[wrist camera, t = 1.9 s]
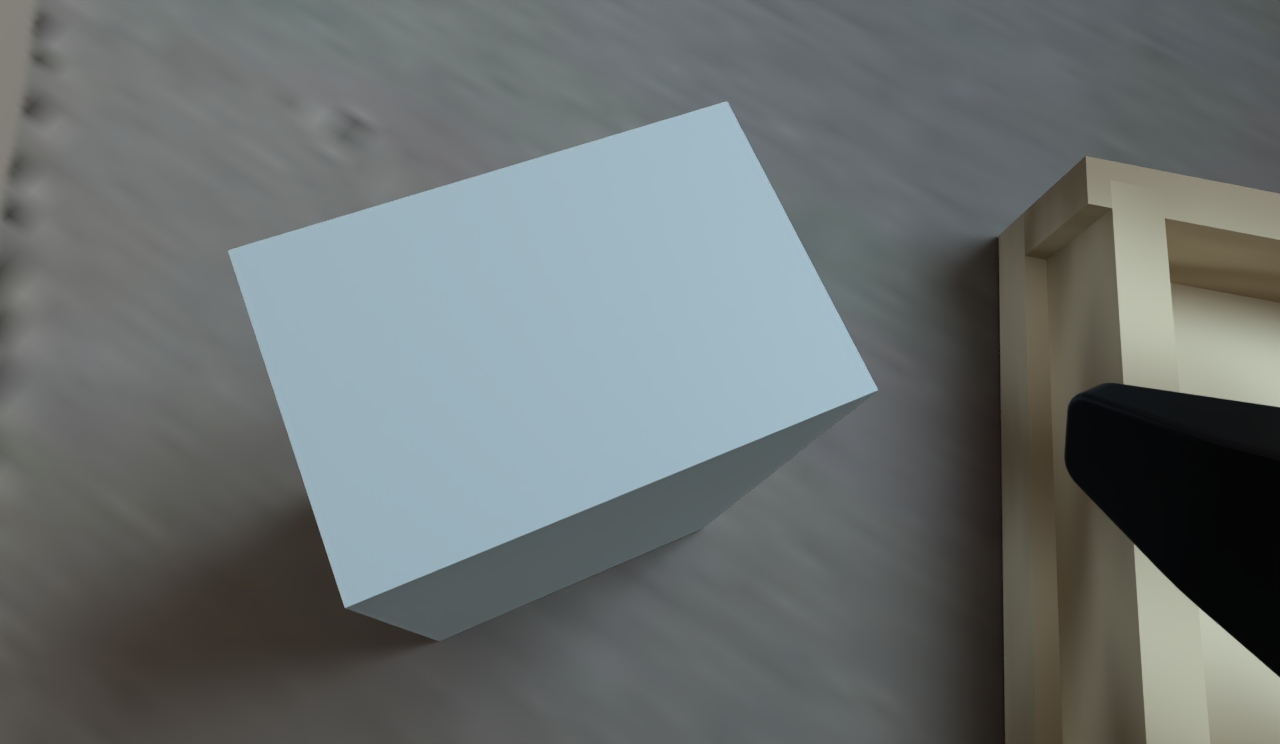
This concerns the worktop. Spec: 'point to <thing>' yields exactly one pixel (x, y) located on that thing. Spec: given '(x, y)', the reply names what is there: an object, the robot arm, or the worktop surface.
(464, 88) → the worktop surface
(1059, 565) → the wooden tray
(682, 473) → the pale blue box
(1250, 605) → the robot arm
